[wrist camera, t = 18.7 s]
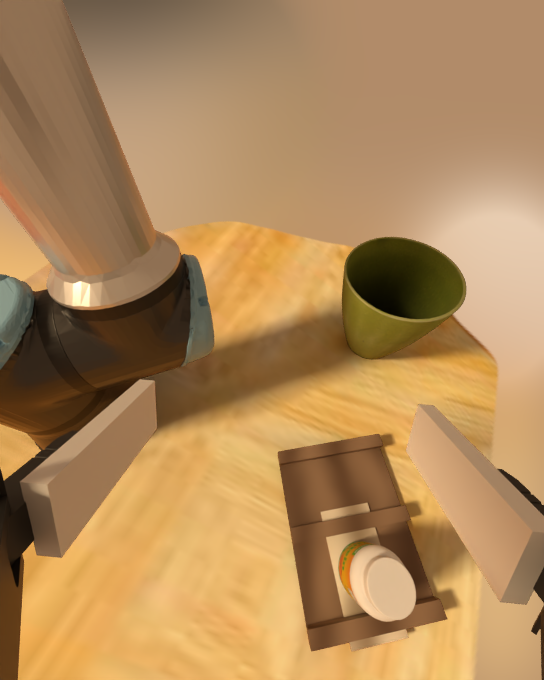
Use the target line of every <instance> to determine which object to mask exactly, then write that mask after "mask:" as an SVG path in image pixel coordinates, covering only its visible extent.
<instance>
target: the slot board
mask: <svg viewBox="0 0 544 680" xmlns="http://www.w3.org/2000/svg"><path fill="white" fill-rule="evenodd" d="M381 446H383V443H382V440H381V438H380V435H379V434H375V435H369V436H364V437H358V438H353V439H347V440H341V441H336V442H330V443H324V444H319V445H313V446H307V447H302V448H296V449H291V450H285V451H279V452H278V459H279V465H280V471H281V477H282V483H283V489H284V495H285V501H286V507H287V513H288V519H289V525H290V531H291V537H292V543H293V549H294V555H295V561H296V567H297V573H298V579H299V585H300V591H301V597H302V603H303V609H304V615H305V621H306V627H307V633H308V639H309V644H310V648H311V651H316V650H320V649H324V648H328V647H333V646H337V645H341V644H345V643H350V647H351V651H356V650H360V649H364V648H368V647H372V646H376V645H381V644H385V643H389V642H393V641H397V640H401V639H406V638H409V637H408V634H407V630H406V629H408V628H412V627H417V626H421V625H425V624H429V623H434V622H438V621H442V620H446V619H447V617H446V614H445V611H444V609H443V606H442V603H441V601H440V599H438V598H436V597H434V596H433V594H432V591H431V589H430V586H429V583H428V580H427V577H426V575H425V572H424V569H423V566H422V564H421V561H420V558H419V555H418V552H417V550H416V547H415V544H414V541H413V539H412V536H411V533H410V530H409V527H408V525H407V522H406V521H408V520H411V519H410V516H409V514H408V511H407V508H406V506H405V505H403V506H401V505H400V502H399V500H398V497H397V494H396V491H395V489H394V486H393V483H392V480H391V477H390V475H389V472H388V469H387V466H386V464H385V461H384V458H383V455H382V452H381V450H380V447H381ZM355 541H363V542H367V543H371V544H376V545H380V546H383V547H385V548H387V549H389V550H391V551H392V552H393V553H394V554H395V555H396V556H397V557H398V558H399V559H400V560H401V561H402V563H403V565H404V566H405V568H406V569H407V570H408V572H409V573H410V575H411V577H412V579H413V581H414V584H415V589H416V603H415V606H414V609H413V611H412V612H411V614H410V615H409V616H408V617H406V618H404V619H402V620H395V621H391V622H385V621H380V620H378V619H375V618H373V617H372V616H370V615H369V614H368V613H366V612H365V611H364V610H363V609H362V608H361V607H360V606H359V605H358V604H357V602H356V601H355V600H354V599H353V598H352V597H351V596H350V595H349V594H348V593H347V592H346V590H345V589H344V587H343V585H342V583H341V581H340V577H339V573H338V561H339V557H340V554H341V552H342V550H343V549H344V547H345V546H347V545H348V544H349V543H351V542H355Z"/></svg>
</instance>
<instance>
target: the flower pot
mask: <svg viewBox="0 0 544 680" xmlns="http://www.w3.org/2000/svg"><path fill="white" fill-rule="evenodd" d="M465 296H466V282H465V279H464V277H463V275H462V273H461V271H460V270H459V268H458V267H457V266H456V265H455V263H454V262H453V261H452V260H451V259H449V258H448V257H447V256H446V255H444V254H443V253H442V252H440V251H439V250H437V249H435V248H433V247H431V246H429V245H427V244H424V243H421V242H418V241H415V240H411V239H407V238H400V237H384V238H376V239H373V240H369V241H366V242H364V243H362V244H360V245H359V246H357V247H356V248H355V249H353V250H352V251H351V253H350V254H349V255H348V257H347V259H346V262H345V267H344V277H343V289H342V315H343V324H344V330H345V334H346V339H347V342H348V345H349V347H350V348H351V350H352V351H353V352H354V353H356V354H357V355H359V356H361V357H363V358H366V359H378V358H381V357H384V356H387V355H389V354H392V353H394V352H396V351H398V350H400V349H402V348H404V347H406V346H408V345H410V344H412V343H413V342H415V341H417V340H418V339H420V338H421V337H423V336H424V335H426V334H427V333H429V332H430V331H432V330H433V329H434V328H436V327H437V326H439V325H440V324H441V323H442V322H444V321H445V320H446V319H447V318H449V317H450V316H451V315H452V314H453V313H454V312H456V311H457V310H458V309H459V308H460V307H461V305H462V304H463V302H464V300H465Z"/></svg>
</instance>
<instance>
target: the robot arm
mask: <svg viewBox="0 0 544 680" xmlns="http://www.w3.org/2000/svg"><path fill="white" fill-rule="evenodd" d="M0 199H1V200H2V201H3V203H4V204H5V205H6V206H7V208H8V209H9V210H10V212H11V213H12V214H13V216H14V217H15V218H16V219H17V221H18V222H19V223H20V225H21V226H22V227H23V228H24V230H25V231H26V232H27V233H28V235H29V236H30V237H31V239H32V240H33V241H34V242H35V244H36V245H37V246H38V247H39V249H40V250H41V251H42V253H43V254H44V255H45V257H46V258H47V259H48V260H49V262H50V263H51V264H52V267H51V270H50V272H49V275H48V279H47V285H46V286H47V289H46V290H42V291H36V292H35V291H32V289H31V287H30V286H29V285H28V284H27V283H25V282H23V281H20V280H18V279H16V278H13V277H9V276H7V275H2V274H0V424H2V425H5V426H8V427H11V428H13V429H16V430H19V431H22V432H25V433H27V434H28V435H29V436H30V437H31V438H32V439H33V440H34V441H35V443H36V445H37V446H38V447H39V449H40V450H41V452H39V453H38V454H37V455H36V456H35V458H32V459H31V460H29V461H28V462H27V463H26V464H24V465H23V466H22V467H21V468H19V469H18V470H17V471H16V472H14V473H13V474H12V475H11V476H9V477H8V478H7V479H6V480H3V476H2V473H1V469H0V680H18V663H19V645H20V626H21V608H22V589H23V571H24V559H23V555H22V553H23V552H24V551H25V550H26V549H27V548H28V546H29V545H30V544H31V543H32V542H33V541H34V545H35V550H36V554H37V555H40V556H50V557H60V558H62V557H63V555H64V554H65V552H66V551H67V550H68V548H69V547H70V546H71V544H72V543H73V542H74V540H75V539H76V538H77V536H78V535H79V533H80V532H81V531H82V529H83V528H84V527H85V525H86V524H87V523H88V521H89V520H90V519H91V517H92V516H93V514H94V513H95V512H96V510H97V509H98V508H99V506H100V505H101V504H102V502H103V501H104V500H105V498H106V497H107V495H108V494H109V493H110V491H111V490H112V489H113V487H114V486H115V485H116V483H117V482H118V481H119V479H120V478H121V476H122V475H123V474H124V472H125V471H126V470H127V468H128V467H129V466H130V464H131V463H132V462H133V460H134V459H135V457H136V456H137V455H138V453H139V452H140V451H141V449H142V448H143V447H144V445H145V444H146V443H147V441H148V440H149V438H150V437H151V436H152V434H153V433H154V432H155V430H156V429H157V415H156V395H155V381H153V380H142V379H141V378H144V377H147V376H150V375H154V374H157V373H161V372H164V371H167V370H171V369H174V368H178V367H183V366H185V365H187V363H190V362H193V361H195V360H198V359H200V358H203V357H205V356H207V355H208V354H210V352H211V351H212V349H213V347H214V329H213V322H212V316H211V310H210V306H209V303H208V297H207V292H206V286H205V282H204V278H203V274H202V270H201V267H200V264H199V262H198V259H197V258H196V257H195V256H193V255H185V254H183V255H181V253H180V249H179V247H178V245H177V243H176V242H175V241H174V240H173V239H172V238H171V237H169V236H167V235H165V234H163V233H161V232H158V231H156V230H154V228H153V225H152V223H151V221H150V218H149V215H148V213H147V210H146V208H145V205H144V203H143V200H142V198H141V195H140V193H139V190H138V188H137V185H136V183H135V180H134V178H133V176H132V173H131V171H130V168H129V165H128V163H127V160H126V158H125V155H124V153H123V151H122V148H121V145H120V143H119V141H118V138H117V136H116V134H115V131H114V128H113V126H112V123H111V121H110V118H109V116H108V113H107V111H106V108H105V106H104V103H103V101H102V98H101V96H100V93H99V91H98V88H97V86H96V83H95V81H94V78H93V76H92V73H91V71H90V68H89V66H88V63H87V61H86V58H85V56H84V53H83V51H82V49H81V46H80V43H79V41H78V39H77V36H76V33H75V31H74V29H73V26H72V24H71V21H70V19H69V16H68V14H67V11H66V9H65V6H64V4H63V1H62V0H0ZM406 452H407V453H408V455H409V457H410V458H411V460H412V462H413V463H414V465H415V466H416V468H417V470H418V471H419V473H420V474H421V476H422V478H423V479H424V481H425V482H426V484H427V486H428V487H429V489H430V490H431V492H432V494H433V495H434V497H435V498H436V500H437V502H438V503H439V505H440V506H441V508H442V510H443V511H444V513H445V514H446V516H447V518H448V519H449V521H450V523H451V524H452V526H453V527H454V529H455V531H456V532H457V534H458V535H459V537H460V539H461V540H462V542H463V543H464V545H465V547H466V548H467V550H468V551H469V553H470V555H471V556H472V558H473V559H474V561H475V563H476V564H477V566H478V567H479V569H480V571H481V572H482V574H483V575H484V577H485V579H486V580H487V582H488V584H489V585H490V587H491V588H492V590H493V592H494V593H495V594H496V596H497V598H498V600H499V601H500V602H506V603H515V604H525V605H526V604H527V602H528V601H529V599H530V596H531V595H532V592H533V591H534V590H535V592H536V593H537V594H538V596H539V597H540V598H541V599H542V601H543V602H544V505H542V504H541V502H540V501H539V500H538V499H537V498H536V497H535V496H534V495H531V493H530V491H529V490H528V489H527V488H526V487H525V486H523V485H522V484H521V483H520V482H519V481H518V480H517V479H515V478H514V477H513V476H511V475H510V474H508V473H507V472H505V471H504V470H502V469H496V468H495V467H494V466H493V465H492V464H491V463H490V461H489V460H488V459H487V458H486V457H485V456H484V455H483V454H482V453H481V452H480V451H479V450H478V449H477V448H476V447H475V446H474V445H473V444H472V443H471V442H470V441H469V440H468V439H467V438H466V437H465V436H464V435H463V434H462V433H461V432H460V431H459V430H458V429H457V428H456V427H455V426H454V425H453V424H452V423H451V422H450V421H449V420H448V419H447V418H446V417H445V416H444V415H443V414H442V413H441V412H440V411H439V410H438V409H437V408H436V407H435V406H434V405H422V404H418V406H417V410H416V414H415V418H414V422H413V425H412V429H411V433H410V437H409V441H408V445H407V449H406ZM539 629H541V663H542V664H541V667H542V680H544V606H543V608H542V610H541V612H540V614H539V616H538V618H537V620H536V621H535V623H534V625H533V628H532V630H531V631H532V632H533V633H534V634H537V632H538V631H539Z"/></svg>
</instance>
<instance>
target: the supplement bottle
mask: <svg viewBox="0 0 544 680" xmlns="http://www.w3.org/2000/svg"><path fill="white" fill-rule="evenodd" d="M338 573H339V577H340V581H341V583H342V585H343V587H344V589H345V590H346V592H347V593H348V594H349V595H350V596H351V597H352V598H353V599H354V600H355V601H356V602H357V604H358V605H359V606H360V607H361V608H362V609H363V610H364V611H365V612H366V613H368V614H369V615H370V616H372V617H373V618H375V619H378V620H380V621H385V622H391V621H395V620H402V619H404V618H406V617H408V616H409V615H410V614H411V612H412V611H413V609H414V606H415V603H416V589H415V584H414V581H413V579H412V577H411V575H410V573H409V572H408V570H407V569H406V568H405V566H404V565H403V563H402V561H401V560H400V559H399V558H398V557H397V556H396V555H395V554H394V553H393V552H392V551H391V550H389V549H387V548H385V547H383V546H380V545H376V544H371V543H367V542H363V541H355V542H351V543H349V544H348V545H347V546H345V547H344V549H343V550H342V552H341V554H340V557H339V561H338Z"/></svg>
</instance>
